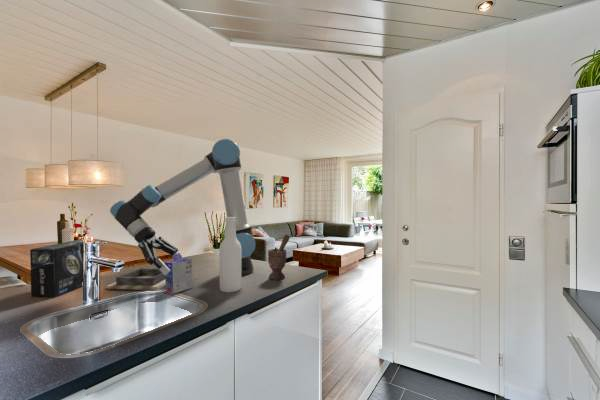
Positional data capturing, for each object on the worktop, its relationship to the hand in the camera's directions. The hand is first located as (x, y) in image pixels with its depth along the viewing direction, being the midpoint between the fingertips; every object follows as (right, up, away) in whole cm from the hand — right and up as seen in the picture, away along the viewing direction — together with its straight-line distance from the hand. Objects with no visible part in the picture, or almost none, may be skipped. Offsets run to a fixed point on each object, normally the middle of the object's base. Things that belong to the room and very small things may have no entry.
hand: (176, 268), depth 121 cm
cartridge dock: (-18, -9, +11) cm, 23 cm away
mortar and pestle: (+41, -9, +19) cm, 46 cm away
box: (-47, -9, +2) cm, 48 cm away
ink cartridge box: (+1, -9, 0) cm, 9 cm away
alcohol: (+22, -9, +1) cm, 24 cm away
